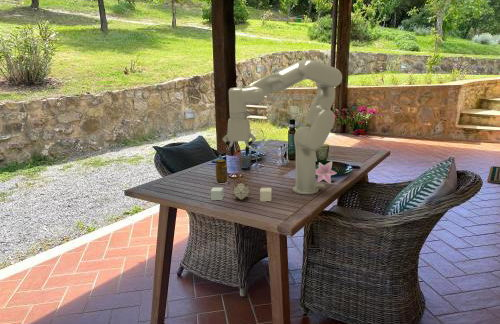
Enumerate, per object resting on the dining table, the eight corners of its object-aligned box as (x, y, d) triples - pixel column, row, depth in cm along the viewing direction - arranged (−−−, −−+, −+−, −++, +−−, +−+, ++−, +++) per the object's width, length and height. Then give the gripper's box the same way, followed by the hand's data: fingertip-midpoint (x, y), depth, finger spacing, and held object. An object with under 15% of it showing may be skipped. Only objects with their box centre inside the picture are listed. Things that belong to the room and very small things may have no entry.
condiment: (227, 179, 215) (226, 158, 212) (230, 184, 207) (229, 162, 204) (214, 181, 213) (212, 159, 210) (216, 185, 205) (215, 163, 202)
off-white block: (271, 197, 185) (271, 187, 184) (271, 201, 181) (270, 191, 179) (261, 197, 186) (260, 187, 185) (260, 201, 181) (259, 191, 180)
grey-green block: (223, 197, 188) (223, 187, 187) (221, 201, 183) (221, 191, 182) (213, 197, 189) (212, 187, 187) (211, 201, 184) (210, 191, 183)
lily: (308, 181, 211) (308, 168, 204) (321, 168, 216) (322, 156, 210) (326, 192, 204) (327, 179, 198) (340, 179, 210) (341, 166, 203)
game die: (240, 205, 187) (240, 185, 191) (254, 201, 183) (254, 181, 186) (228, 201, 181) (228, 180, 185) (242, 197, 176) (242, 176, 180)
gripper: (258, 114, 177) (259, 153, 182) (220, 114, 179) (222, 153, 184) (256, 116, 170) (257, 157, 174) (217, 117, 172) (219, 157, 177)
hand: (239, 154), depth 179 cm, fingers open, 5 cm apart
